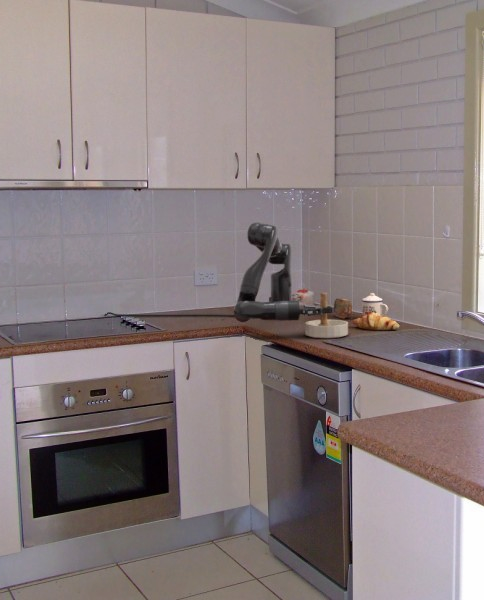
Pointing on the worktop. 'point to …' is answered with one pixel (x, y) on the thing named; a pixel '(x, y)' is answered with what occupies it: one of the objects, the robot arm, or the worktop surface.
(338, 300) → the tin
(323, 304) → the wooden pestle
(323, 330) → the bowl
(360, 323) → the croissant
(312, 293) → the food item
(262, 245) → the robot arm
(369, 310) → the teacup with lid
